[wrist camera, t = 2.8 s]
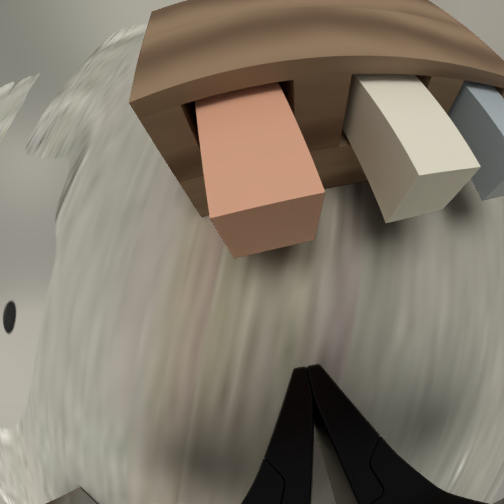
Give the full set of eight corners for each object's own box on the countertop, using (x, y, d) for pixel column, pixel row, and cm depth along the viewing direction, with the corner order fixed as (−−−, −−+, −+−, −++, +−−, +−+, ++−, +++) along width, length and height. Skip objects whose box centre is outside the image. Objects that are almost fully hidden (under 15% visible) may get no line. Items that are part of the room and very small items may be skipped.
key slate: (511, 193, 11) (545, 160, 7) (482, 200, 11) (519, 162, 7) (468, 120, 13) (489, 82, 9) (435, 120, 13) (456, 75, 9)
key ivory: (441, 210, 11) (480, 166, 8) (385, 223, 12) (419, 175, 8) (393, 121, 13) (411, 70, 10) (341, 126, 14) (351, 70, 10)
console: (466, 165, 17) (523, 82, 7) (201, 216, 18) (128, 102, 8) (403, 75, 21) (423, -3, 11) (189, 104, 22) (151, 11, 12)
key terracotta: (314, 240, 12) (325, 192, 8) (234, 258, 12) (209, 218, 8) (280, 136, 14) (275, 77, 10) (215, 151, 14) (194, 96, 10)
